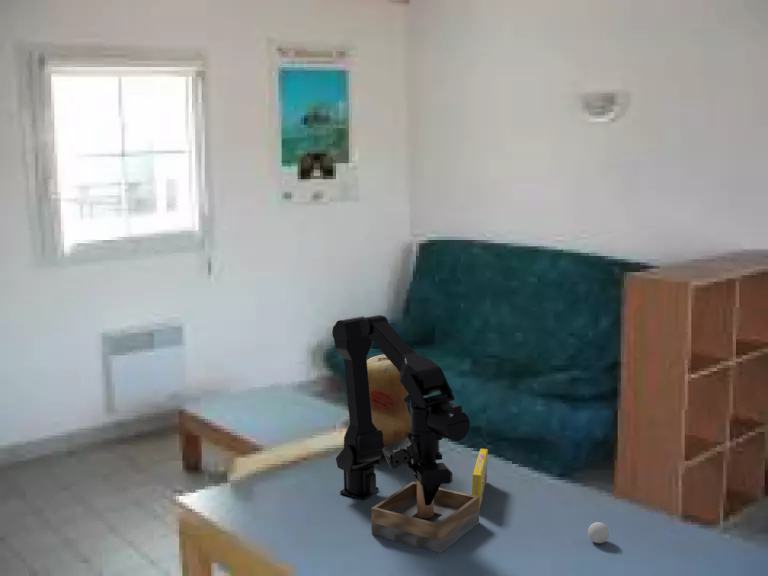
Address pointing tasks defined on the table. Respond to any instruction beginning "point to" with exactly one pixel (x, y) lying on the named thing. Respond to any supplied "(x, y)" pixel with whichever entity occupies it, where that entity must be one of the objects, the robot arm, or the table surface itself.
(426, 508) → the peg
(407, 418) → the butternut squash
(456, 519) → the bore box
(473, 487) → the candy box
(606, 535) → the sports ball
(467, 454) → the table surface
